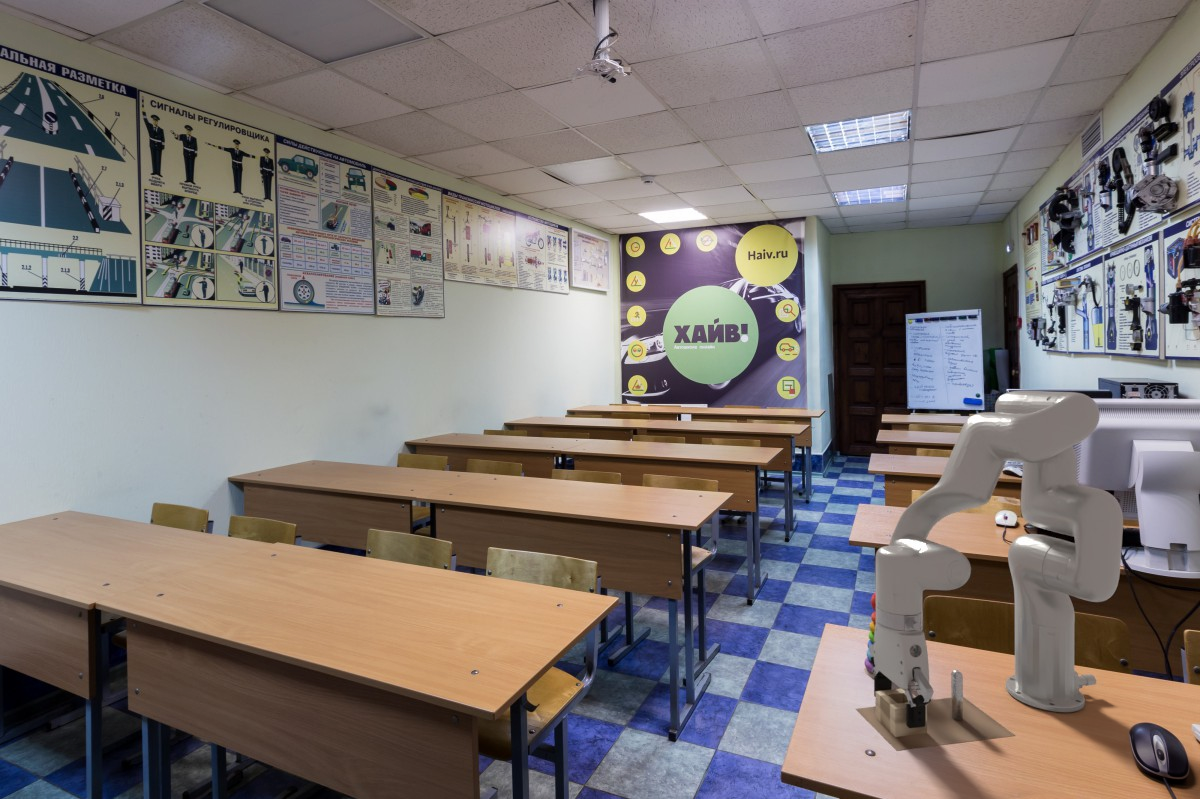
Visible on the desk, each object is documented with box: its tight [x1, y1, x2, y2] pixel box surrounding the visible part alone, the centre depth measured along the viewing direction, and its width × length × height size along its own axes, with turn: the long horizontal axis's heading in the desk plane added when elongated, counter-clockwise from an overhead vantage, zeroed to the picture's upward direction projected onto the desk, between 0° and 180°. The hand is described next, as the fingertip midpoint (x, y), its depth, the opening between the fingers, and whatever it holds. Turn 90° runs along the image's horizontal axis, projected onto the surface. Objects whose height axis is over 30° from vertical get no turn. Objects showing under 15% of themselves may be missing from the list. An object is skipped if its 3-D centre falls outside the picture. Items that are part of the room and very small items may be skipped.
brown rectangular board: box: [855, 696, 1016, 752], centre depth 113 cm, size 22×13×2 cm, turn 97°
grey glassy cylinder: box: [950, 669, 964, 721], centre depth 113 cm, size 2×2×9 cm
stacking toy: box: [863, 591, 876, 679], centre depth 131 cm, size 8×8×19 cm
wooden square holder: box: [874, 688, 927, 737], centre depth 112 cm, size 6×6×5 cm
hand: (898, 711), depth 112 cm, fingers open, 9 cm apart
